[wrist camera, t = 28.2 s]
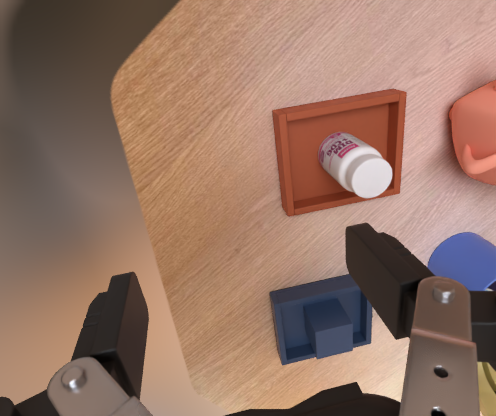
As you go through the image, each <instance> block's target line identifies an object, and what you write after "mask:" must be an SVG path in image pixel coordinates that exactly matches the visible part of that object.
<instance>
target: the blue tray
mask: <svg viewBox="0 0 496 416" xmlns="http://www.w3.org/2000/svg"><path fill="white" fill-rule="evenodd" d="M335 298H338V300H339V302H340V303H341V305H342V307H343V308H344V310H345V312H346V313H347V315H348V317H349V318H350V320H351V322H352V323H353V348H355V347H359V346H363V345H367V344H371V329H372V305H371V304H370V302H369V301H368V299H367V298H366V297H365V295H364V294H363V292H362V291H361V290H360V288H359V287H358V285H357V284H356V283H355V281H354V280H353V278H352V277H351V275H350V274H347V275H343V276H339V277H334V278H330V279H325V280H321V281H317V282H312V283H308V284H303V285H299V286H294V287H290V288H286V289H281V290H277V291H272V292H270V300H271V307H272V314H273V321H274V328H275V335H276V342H277V349H278V354H279V357H280V360H281V363H282V365H286V364H290V363H294V362H298V361H302V360H306V359H310V358H314V357H316V355H315V353H314V350H313V348H312V346H311V343H310V341H309V339H308V336H307V334H306V331H305V319H304V308H303V306H305V305H310V304H314V303H318V302H322V301H327V300H331V299H335Z"/></svg>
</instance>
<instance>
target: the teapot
mask: <svg viewBox="0 0 496 416" xmlns="http://www.w3.org/2000/svg"><path fill="white" fill-rule="evenodd" d="M449 118H450V120H451V121H452V137H453V144H454V148H455V155H456V156H457V158H458V161H459V164H460V166H461V168H462V169H463V171H464V172H465V173H466V174H467V175H468V176H469V177H471V178H473V179H475V180H478V181H481V182H484V183H487V184H491V185H496V80H495V81H493V82H491V83H488V84H486V85H484V86H482V87H480V88H478V89H476V90H475V91H473V92H471V93H469V94H467V95H465V96H464V97H462V98H460V99H459V100H457V101H456V102H455V103H454V105H453V107H452V108H451V110H450V112H449Z"/></svg>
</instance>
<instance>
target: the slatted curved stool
mask: <svg viewBox="0 0 496 416" xmlns="http://www.w3.org/2000/svg"><path fill="white" fill-rule="evenodd" d="M477 364H478V384H479V405H480V411H481V413H482V414H483V416H496V371H495V370H494V369H493V368H492V367H491V366H490V364H489V363H488V362H477Z"/></svg>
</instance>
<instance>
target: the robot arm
mask: <svg viewBox="0 0 496 416" xmlns="http://www.w3.org/2000/svg"><path fill="white" fill-rule="evenodd" d="M346 264H347V268H348V271H349V273H350V275H351V277H352V278H353V280H354V281H355V283H356V284H357V285H358V287H359V288H360V290H361V291H362V292H363V294H364V295H365V297H366V298H367V299H368V301H369V302H370V304H371V305H372V307H373V308H374V309H375V311H376V312H377V314H378V315H379V316H380V318H381V319H382V321H383V322H384V323H385V325H386V326H387V328H388V329H389V331H390V332H391V333H392V335H393V336H394V338H395V339H396V340H397V339H401V338H405V337H409V338H410V343H409V350H408V357H407V364H406V371H405V378H404V385H403V392H402V399H401V403H400V402H398V401H396V400H394V399H391V398H388V397H385V396H380V395H376V394H368V393H362V391H361V389H360V387H359V385H358V383H357V382H354V383H350V384H346V385H342V386H338V387H334V388H331V389H327V390H323V391H321V392H319V393H317V394H316V395H314V396H312V397H310V398H308V399H307V400H305V401H303V402H301V403H299V404H298V405H296V406H294V407H292V408H290V409H248V410H244V411H241V412H237V413H233V414H229V415H225V416H480V405H479V384H478V364H477V362H488V363H489V364H490V366H491V367H492V368H493V369H494V370H495V371H496V291H470V290H468V289H467V288H466V287H465V286H464V285H463V284H461V283H460V282H458V281H456V280H453V279H451V278H447V277H441V276H435V275H434V274H433V273H432V272H431V271H430V270H429V269H428V268H427V267H426V266H425V265H424V264H423V263H422V262H421V261H419V260H418V259H417V258H416V257H415V256H414V255H413V254H411V252H410V251H409V250H408V249H407V248H404V245H402V244H401V243H400V242H399V241H398V240H397V239H396V238H394V237H392V236H390V235H388V234H386V233H384V232H382V233H377V232H376V231H375V230H374V229H373V228H372V227H371V226H370V225H369V224H368V223H362V224H357V225H352V226H348V227H347V228H346ZM148 321H149V317H148V308H147V304H146V301H145V298H144V296H143V293H142V290H141V287H140V284H139V282H138V279H137V276H136V274H135V273H134V272H129V273H125V274H120V275H115V276H112V278H111V281H110V284H109V288H108V291H107V292H103V293H99V294H98V295H97V297H96V298H95V299H94V300H93V301H92V303H91V304H90V306H89V309H88V312H87V315H86V318H85V320H84V323H83V328H82V329H81V332H80V335H79V338H78V341H77V344H76V347H75V350H74V353H73V356H72V359H71V362H69V363H67V364H66V365H64V366H63V367H62V368H61V369H59V370H58V371H57V372H56V373H55V374H54V376H53V377H52V378H51V380H50V382H49V384H48V387H47V389H46V390H45V391H43V392H41V393H39V394H37V395H35V396H33V397H31V398H29V399H27V400H25V401H23V402H21V403H19V404H17V405H14V404H13V402H12V401H11V400H10V399H9V398H6V397H0V416H153V415H152V414H151V413H150V412H149V411H148V410H147V409H146V407H145V406H144V405H143V404H142V403H141V402H140V392H141V383H142V374H143V365H144V357H145V347H146V339H147V330H148Z"/></svg>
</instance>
